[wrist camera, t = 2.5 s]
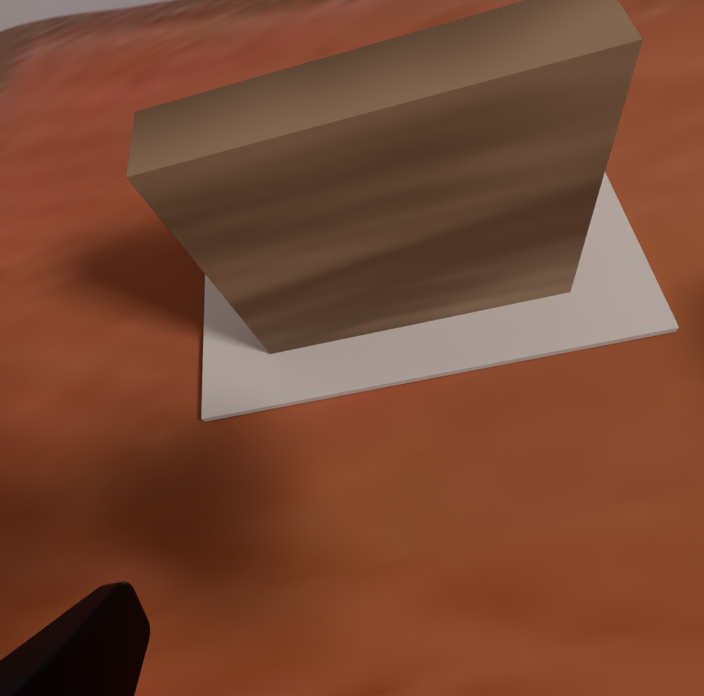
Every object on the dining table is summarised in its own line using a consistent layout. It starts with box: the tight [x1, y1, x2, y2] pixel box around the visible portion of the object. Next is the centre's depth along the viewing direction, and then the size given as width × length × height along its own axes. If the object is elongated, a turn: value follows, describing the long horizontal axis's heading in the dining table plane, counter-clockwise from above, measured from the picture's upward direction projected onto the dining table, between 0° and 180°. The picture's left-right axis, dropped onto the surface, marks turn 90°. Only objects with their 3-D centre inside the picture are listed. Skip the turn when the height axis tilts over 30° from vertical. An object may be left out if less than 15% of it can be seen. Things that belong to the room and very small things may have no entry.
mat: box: [201, 173, 679, 422], centre depth 23 cm, size 16×18×1 cm
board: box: [126, 0, 643, 354], centre depth 17 cm, size 2×12×10 cm, turn 97°
